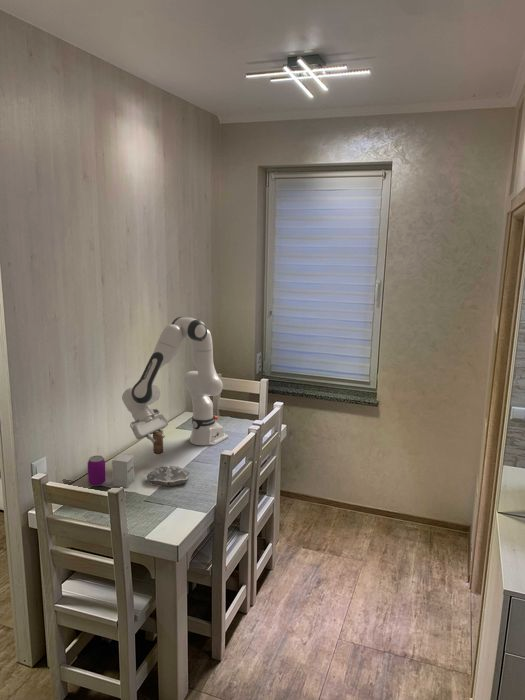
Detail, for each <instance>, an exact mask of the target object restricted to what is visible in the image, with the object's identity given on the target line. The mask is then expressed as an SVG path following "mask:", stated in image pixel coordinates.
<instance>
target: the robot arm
mask: <svg viewBox="0 0 525 700" xmlns="http://www.w3.org/2000/svg"><path fill="white" fill-rule="evenodd" d="M184 339H186V340H188V339H189V340H191V357H192V364H193V367H195V369H196V370H190V371H188V372H187V373H186V374H185V376H184V377H183V382H184V385H185V386H186V388H187V390H188V392H189V395H190V399H191V401H192V416H191V425H192V426H191V434H190V438H189V442H190V443H191V444H192V445H195V446H196V445H197V446H215V445H217V444H219V443H221V442H222V441H224V440H227V439H229V435H228V434H227V433H225V431H224V427H223V426H222V425H221V424H220V423H218V422H217V421H218V420H219V416H217V415H214V404H213V401H212V400H211V398H210V397H212V396H213V397H215V396H216V397H217V396H218V395H220V394H221V393H222V391H223V387H224V384H223V381H222V380H221V378H220V376H219V375H218V373H217V371H216V368H215V363H214V354H213V353H214V352H213V349H214V348H213V347H214V346H213V337H212V334H211V331H210V329H208V328H207V326H206V324H205V323H204V322H203V321H202V320H200V319H196V318H193V317H187V316H178V317H176V318H174V320H173V321H172V323H170V324H166V326H165V327H164V328H163V330H162V331H161V333H160V335H159V338H158V340H157V342H156V344H155V347H154V349H153V352H152V354H151V356H150V358H149V359H148V362H147V363H146V366H145V368H144V371H143V372H142V374H141V376H140V378H139V380H138V381H136V383H135V384H134V385H133V386H132V387H129V388H127V389H126V390H125V391H124V392H123V394H122V395H121V400H122V402H123V404H124V406H125V407H126V410H127V411H128V412H130V414H131V416H132V418H133V419H134V421H131V422H130V425H129V426H130V428H131V431H132V432H133V435H134V436H135V438H136V440H139V441H140V440H141V439H144V438H146V439H147V440H149V441H150V442H151V443H152V444H153V443H154V442H156V439H155V438H153V436H152V435H153V433H154V432H162V433H163V439H165V438H166V436H165V434H164V429H165V428H167V427H168V425H169V422H168V420H167V418H166V417H165V415H163V414H162V413H161V410H160V409H158V408H149V406H150V405H151V404H154V403H155V402H157V401H158V400H159V399H160V396H161V391H160V388H159V387H158V386H157V385H155V384H154V381H155V380H156V377H157V375H158V373H159V371H160V370H161V368H162V367H163V366H165V365H167V364H169V363H171V362H173V360H174V359H175V357H176V356H177V353H178V351H179V348H180V345H181V342H182V341H183V340H184Z"/></svg>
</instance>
